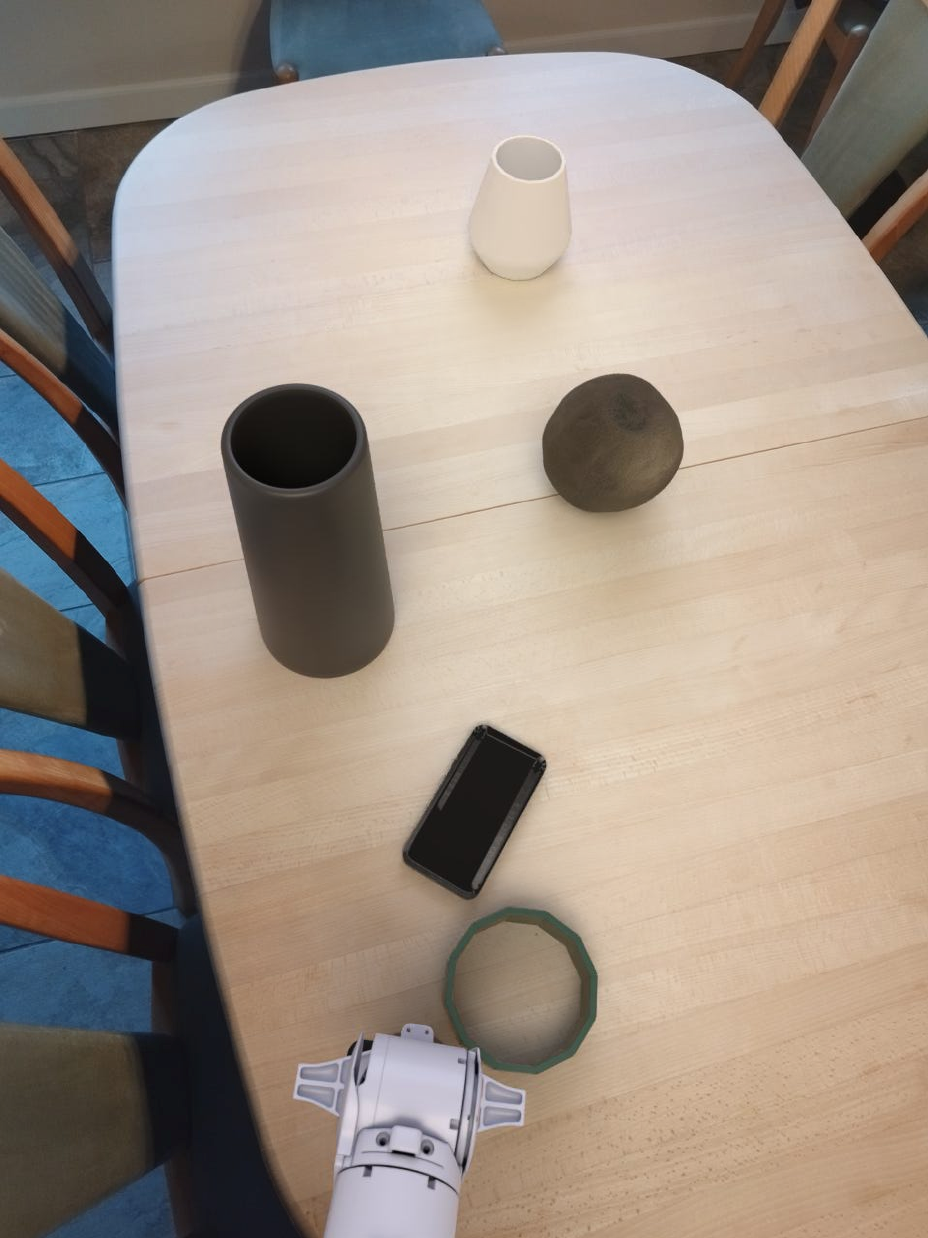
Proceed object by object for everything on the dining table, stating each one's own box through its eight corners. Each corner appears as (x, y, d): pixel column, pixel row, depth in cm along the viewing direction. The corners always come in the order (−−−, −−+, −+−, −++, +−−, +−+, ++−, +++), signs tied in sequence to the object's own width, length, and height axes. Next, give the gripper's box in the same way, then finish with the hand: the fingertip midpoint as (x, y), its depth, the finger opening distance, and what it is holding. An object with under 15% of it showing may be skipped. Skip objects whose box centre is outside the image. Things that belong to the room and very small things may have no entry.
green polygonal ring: (584, 1080, 71) (594, 1082, 67) (436, 1063, 71) (437, 1063, 67) (589, 924, 76) (599, 917, 72) (452, 908, 76) (455, 900, 72)
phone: (550, 759, 82) (473, 903, 75) (549, 763, 83) (472, 905, 76) (478, 719, 83) (396, 856, 77) (477, 723, 84) (396, 859, 78)
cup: (490, 208, 118) (499, 108, 106) (581, 241, 116) (602, 143, 104) (448, 269, 112) (453, 171, 100) (543, 305, 110) (560, 210, 98)
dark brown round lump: (548, 548, 94) (571, 464, 80) (523, 444, 100) (541, 350, 87) (672, 535, 96) (715, 450, 82) (641, 434, 102) (676, 340, 88)
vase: (416, 646, 88) (419, 475, 62) (289, 700, 84) (235, 542, 58) (362, 542, 93) (344, 344, 67) (240, 588, 90) (172, 398, 64)
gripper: (538, 1036, 52) (514, 1040, 64) (299, 1007, 52) (320, 1017, 64) (530, 1173, 49) (506, 1151, 61) (275, 1143, 49) (302, 1126, 61)
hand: (410, 1089), depth 63 cm, fingers closed on salt shaker, 3 cm apart
